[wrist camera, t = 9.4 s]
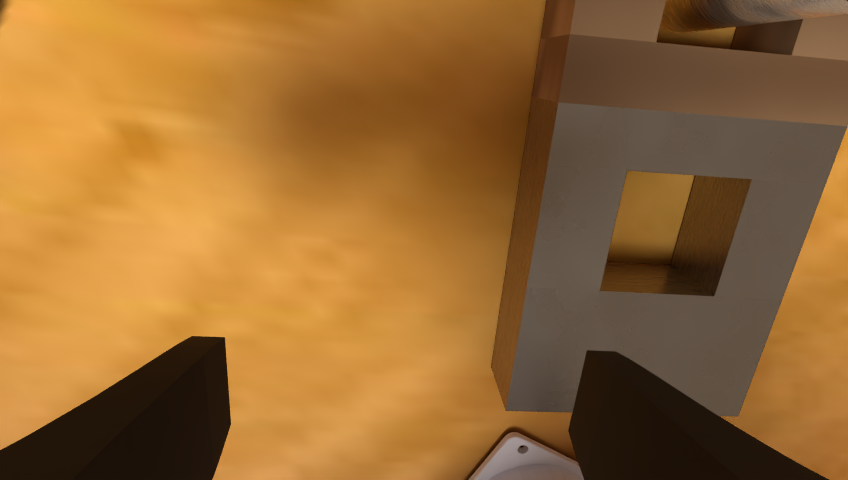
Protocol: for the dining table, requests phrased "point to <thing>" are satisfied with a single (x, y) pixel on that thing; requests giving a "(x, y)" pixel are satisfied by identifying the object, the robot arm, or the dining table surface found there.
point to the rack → (692, 64)
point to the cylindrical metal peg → (742, 12)
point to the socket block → (653, 283)
